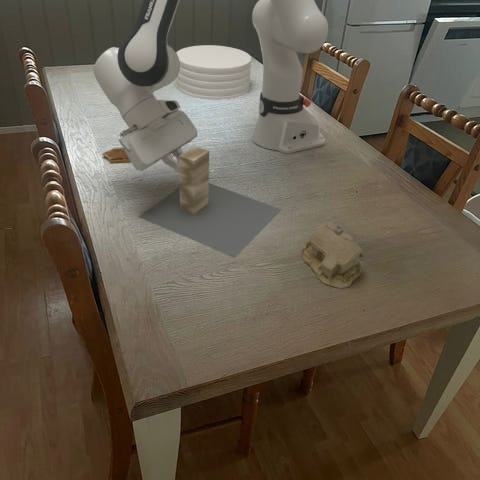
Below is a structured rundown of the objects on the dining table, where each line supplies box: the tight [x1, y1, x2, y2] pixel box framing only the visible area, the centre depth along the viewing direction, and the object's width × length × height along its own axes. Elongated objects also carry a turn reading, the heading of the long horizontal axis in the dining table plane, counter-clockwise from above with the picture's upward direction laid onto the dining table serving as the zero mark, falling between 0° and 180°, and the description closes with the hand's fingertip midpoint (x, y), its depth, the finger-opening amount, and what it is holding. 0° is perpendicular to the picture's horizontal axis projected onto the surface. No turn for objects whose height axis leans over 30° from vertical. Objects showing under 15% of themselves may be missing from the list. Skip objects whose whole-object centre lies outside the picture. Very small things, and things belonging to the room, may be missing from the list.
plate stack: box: [175, 44, 252, 101], centre depth 175 cm, size 28×28×12 cm
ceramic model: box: [301, 221, 365, 289], centre depth 95 cm, size 14×11×10 cm
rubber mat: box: [137, 182, 282, 258], centre depth 110 cm, size 26×22×1 cm
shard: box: [102, 146, 131, 164], centre depth 128 cm, size 11×8×2 cm
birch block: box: [178, 145, 210, 214], centre depth 107 cm, size 4×6×14 cm, turn 150°
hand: (182, 169), depth 107 cm, fingers closed
